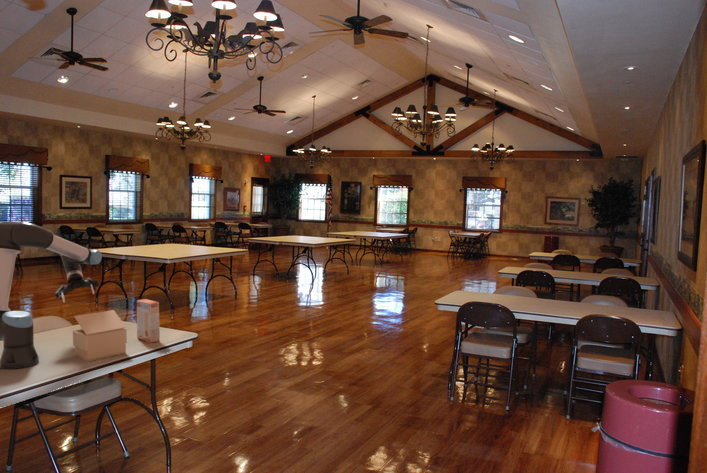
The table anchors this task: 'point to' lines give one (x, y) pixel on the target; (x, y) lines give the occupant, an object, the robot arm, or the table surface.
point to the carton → (99, 344)
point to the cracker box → (148, 320)
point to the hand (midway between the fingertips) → (78, 296)
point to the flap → (100, 322)
